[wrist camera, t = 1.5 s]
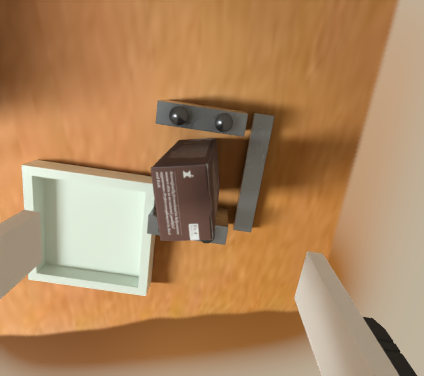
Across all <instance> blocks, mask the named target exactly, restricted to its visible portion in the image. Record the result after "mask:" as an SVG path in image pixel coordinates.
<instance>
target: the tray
mask: <svg viewBox="0 0 424 376" xmlns="http://www.w3.org/2000/svg"><path fill="white" fill-rule="evenodd" d="M22 178H23V195H24V210H29V211H36V212H40V222H41V247H42V262H41V263H40V264H39V265H37V266H36V267H35V268H34V269H33V270H32V271H31V272H30V273H29V274H28V279H29V280H36V281H43V282H50V283H57V284H64V285H71V286H78V287H86V288H93V289H100V290H107V291H114V292H121V293H128V294H135V295H142V296H146V295H147V292H148V289H149V287H150V284H151V278H152V267H153V256H154V245H155V235H153V234H147V226H148V215H149V214H150V212H151V210H152V209H153V207H154V205H155V199H154V192H153V183H152V176H145V175H138V174H131V173H124V172H118V171H111V170H104V169H97V168H90V167H83V166H76V165H70V164H63V163H56V162H49V161H42V160H35V161H32V162H29V163H26V164H23V165H22Z"/></svg>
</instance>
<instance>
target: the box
mask: <svg viewBox="0 0 424 376" xmlns="http://www.w3.org/2000/svg"><path fill="white" fill-rule="evenodd" d="M151 173H152V183H153V192H154V199H155V205H156V213H157V220H158V227H159V234H160V240H161V241H184V240H213V238H214V231H215V223H216V213H217V205H218V196H219V169H218V152H217V140H216V139H213V138H208V139H193V140H179V141H178V142H177V143H176V144H175V145H174V146H173V147H172V148H171V149H170V150H169V151H168V152H167V153H166V154H165V155H164V156H163V157H162V158H161V159H160V160H159V161H158V162H157V163H156V164H155V165H154V166H153V167H151Z"/></svg>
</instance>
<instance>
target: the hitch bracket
mask: <svg viewBox="0 0 424 376" xmlns="http://www.w3.org/2000/svg"><path fill="white" fill-rule="evenodd" d="M247 118H248V114H247V113H246V112H245V111H240V110H233V109H226V108H220V107H213V106H206V105H200V104H193V103H186V102H179V101H173V100H159V101H158V104H157V116H156V124H161V125H168V126H175V127H182V128H188V129H195V130H202V131H209V132H215V133H222V134H229V135H236V136H242V137H244V135H245V129H246V123H247ZM273 121H274V116H273V115H267V114H260V113H253V118H252V124H251V129H250V135H249V141H248V146H247V152H246V157H245V163H244V168H243V174H242V179H241V185H240V190H239V196H238V202H237V207H236V213H235V218H234V224H233V229H234V230H238V231H245V232H251V230H252V225H253V220H254V215H255V210H256V205H257V200H258V195H259V190H260V185H261V180H262V175H263V170H264V165H265V160H266V156H267V151H268V146H269V141H270V136H271V131H272V126H273ZM227 232H228V209H227V208H221V207H217V213H216V223H215V231H214V238H213V240H195V241H202V242H203V243H216V244H223V245H225V243H226V237H227ZM147 234H153V235H160V234H159V227H158V220H157V213H156V205H154V207H153V209H152V210H151V212H150V214H149V215H148V226H147Z"/></svg>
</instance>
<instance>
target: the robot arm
mask: <svg viewBox="0 0 424 376" xmlns="http://www.w3.org/2000/svg"><path fill="white" fill-rule="evenodd" d="M41 262H42V247H41V222H40V212H36V211H29V210H23V211H21V212H20V213H18V214H16V215H14V216H13V217H11V218H9V219H7V220H6V221H4V222H2V223H0V299H1V298H2V297H3V296H4V295H5V294H6V293H8V292H9V291H10V290H11V289H12V288H13V287H14V286H15V285H16V284H18V283H19V282H20V281H21V280H22V279H23V278H24V277H25V276H26V275H28V274H29V273H30V272H31V271H32V270H33V269H34V268H35V267H36V266H37V265H39V264H40V263H41ZM295 301H296V304H297V307H298V310H299V313H300V316H301V318H302V321H303V324H304V327H305V330H306V333H307V336H308V339H309V341H310V344H311V347H312V350H313V353H314V356H315V358H316V361H317V364H318V367H319V370H320V373H321V376H417V375H416V373H415V372H414V370H413V369H412V368H411V366H410V365H409V363H408V362H407V360H406V359H405V357H404V356H403V355H402V354H401V353H400V350H399V349H398V347H397V346H396V344H394V343H393V340H392V339H391V337H390V336H389V335H388V333H387V332H386V330H385V329H384V328H383V327H382V326H381V325H380V324H378V323H377V322H376V321H375V320H374V319H373V318H366V317H362V315H361V314H360V312H359V311H358V309H357V307H356V306H355V304H354V303H353V301H352V300H351V298H350V296H349V295H348V293H347V291H346V290H345V288H344V287H343V285H342V284H341V282H340V280H339V279H338V277H337V276H336V274H335V272H334V271H333V269H332V268H331V266H330V264H329V263H328V261H327V260H326V258H325V256H324V255H323V254H322V253H315V252H308V251H307V254H306V258H305V261H304V265H303V269H302V272H301V276H300V280H299V283H298V287H297V291H296V294H295Z"/></svg>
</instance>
